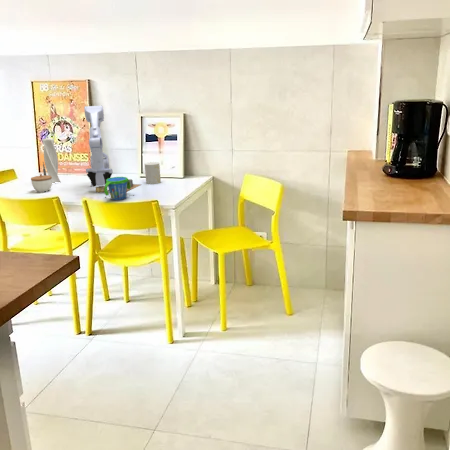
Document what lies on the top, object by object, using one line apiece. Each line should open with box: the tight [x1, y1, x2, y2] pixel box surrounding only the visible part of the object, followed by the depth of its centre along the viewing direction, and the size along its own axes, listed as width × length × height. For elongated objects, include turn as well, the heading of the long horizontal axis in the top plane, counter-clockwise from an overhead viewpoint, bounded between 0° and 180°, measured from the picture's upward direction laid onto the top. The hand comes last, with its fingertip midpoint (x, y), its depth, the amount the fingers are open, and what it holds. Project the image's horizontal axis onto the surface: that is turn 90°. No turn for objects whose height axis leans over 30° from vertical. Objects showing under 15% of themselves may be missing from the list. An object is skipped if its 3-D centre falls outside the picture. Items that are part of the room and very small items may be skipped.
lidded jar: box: [30, 173, 53, 193], centre depth 269 cm, size 11×11×9 cm
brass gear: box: [95, 185, 105, 193], centre depth 258 cm, size 6×6×4 cm
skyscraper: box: [41, 134, 61, 184], centre depth 287 cm, size 8×8×28 cm
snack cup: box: [103, 176, 131, 201], centre depth 245 cm, size 16×10×10 cm
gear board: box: [107, 183, 143, 192], centre depth 264 cm, size 12×18×4 cm, turn 163°
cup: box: [144, 161, 162, 185], centre depth 273 cm, size 8×8×12 cm
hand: (100, 186), depth 257 cm, fingers open, 7 cm apart
